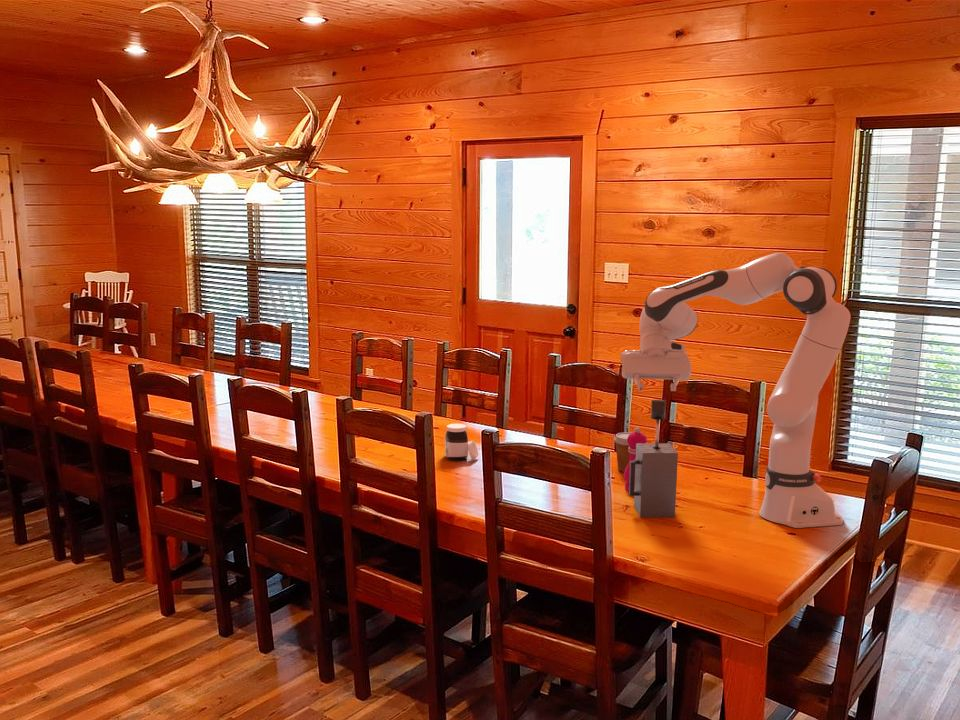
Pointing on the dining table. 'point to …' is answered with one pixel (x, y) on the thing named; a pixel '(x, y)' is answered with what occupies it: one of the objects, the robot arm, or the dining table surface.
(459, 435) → the spread jar
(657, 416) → the press plunger
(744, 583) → the dining table surface
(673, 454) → the tall grey box
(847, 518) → the dining table surface
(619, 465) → the disposable coffee cup
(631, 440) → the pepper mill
